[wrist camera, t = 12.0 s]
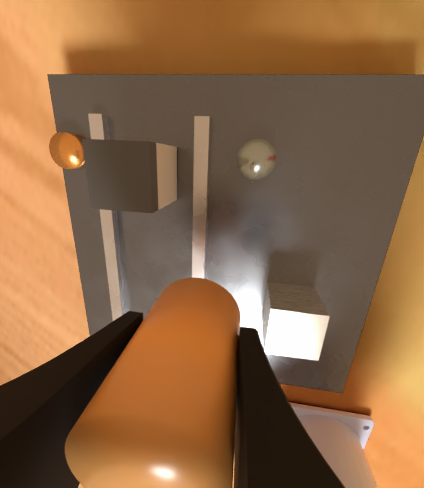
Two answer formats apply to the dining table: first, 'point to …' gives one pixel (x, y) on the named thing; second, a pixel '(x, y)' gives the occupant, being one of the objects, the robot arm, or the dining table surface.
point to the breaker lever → (130, 174)
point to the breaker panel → (249, 200)
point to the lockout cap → (166, 398)
